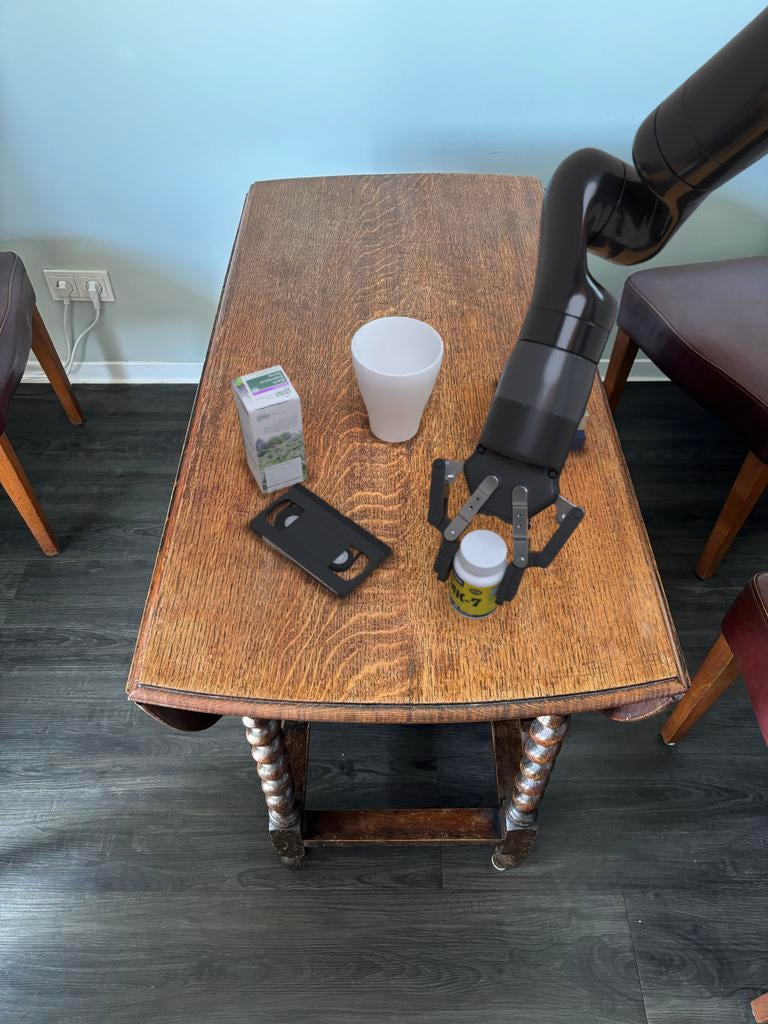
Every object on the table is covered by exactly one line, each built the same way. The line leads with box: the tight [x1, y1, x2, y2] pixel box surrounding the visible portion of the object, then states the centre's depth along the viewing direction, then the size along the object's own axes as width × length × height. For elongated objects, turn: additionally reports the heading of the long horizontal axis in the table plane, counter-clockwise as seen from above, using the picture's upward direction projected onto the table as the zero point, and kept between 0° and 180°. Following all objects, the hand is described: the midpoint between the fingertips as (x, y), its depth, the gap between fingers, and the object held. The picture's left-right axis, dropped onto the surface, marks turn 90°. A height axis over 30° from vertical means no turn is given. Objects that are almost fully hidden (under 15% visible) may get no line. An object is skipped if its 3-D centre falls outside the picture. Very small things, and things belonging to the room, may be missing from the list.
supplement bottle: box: [448, 529, 509, 620], centre depth 65 cm, size 5×5×8 cm
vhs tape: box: [249, 482, 392, 601], centre depth 80 cm, size 14×8×2 cm, turn 49°
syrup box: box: [230, 364, 308, 495], centre depth 81 cm, size 6×6×14 cm
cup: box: [350, 315, 444, 444], centre depth 87 cm, size 10×10×14 cm
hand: (471, 590), depth 64 cm, fingers closed on supplement bottle, 4 cm apart
